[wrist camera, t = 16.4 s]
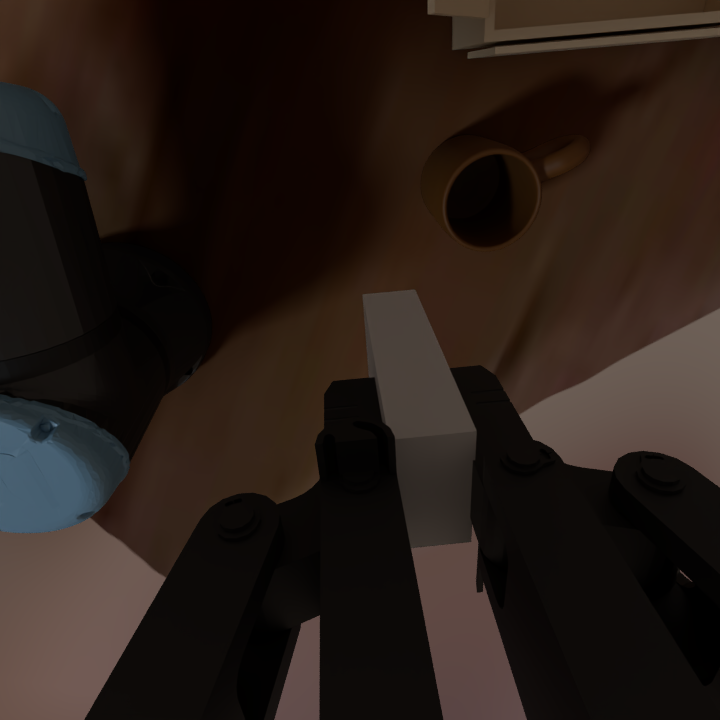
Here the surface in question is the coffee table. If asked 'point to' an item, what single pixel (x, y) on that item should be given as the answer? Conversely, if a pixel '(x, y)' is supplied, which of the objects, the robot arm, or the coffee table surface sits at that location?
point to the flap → (459, 8)
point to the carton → (582, 24)
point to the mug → (493, 186)
